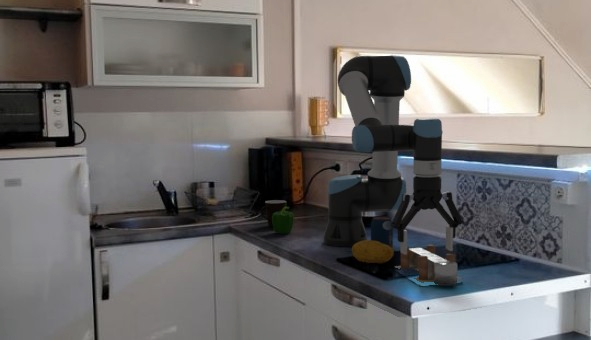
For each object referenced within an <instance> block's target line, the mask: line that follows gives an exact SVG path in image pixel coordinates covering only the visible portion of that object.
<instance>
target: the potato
mask: <svg viewBox="0 0 591 340" xmlns="http://www.w3.org/2000/svg"><path fill="white" fill-rule="evenodd" d="M351 247H352V248H351V253H352V254H353V257H354V258H355V259H356V260H357V261H359V262H361V261H362V263H364V262H370V263H378V264H384V263H387V262H389V261H390V260H391V259H392V258H393V257H394V255H395V251H394V248H393V249H392V248H391V247H390V246H389V245H386V244H383V243H380V242H378V241H371V240H368V239H367V240H363V241H360V242H358V243H356V244H354V245H353V246H351Z"/></svg>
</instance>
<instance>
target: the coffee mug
mask: <svg viewBox="0 0 591 340" xmlns="http://www.w3.org/2000/svg"><path fill="white" fill-rule="evenodd" d="M264 204H265V206H262V207H261V209H260V214H261V217H262V218H264V219H265V220H267V225H268V228H272V229H274V227H273V223H272V215H273V213H275V212H281V213H282V209H283V208H284V207H287V201H286V200H284V199H283V200H281V199H280V200H279V199H278V200H277V199H274V200H273V199H272V200H265V202H264ZM264 209H266V210H265V211H266V216H265V215H264V214H263V210H264ZM286 210H287V209H285V211H286ZM285 211H284V212H285Z"/></svg>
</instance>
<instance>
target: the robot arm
mask: <svg viewBox="0 0 591 340" xmlns="http://www.w3.org/2000/svg"><path fill="white" fill-rule="evenodd" d="M411 84H412V73H411V69H410V65H409V62H408V59H407V58H406V57H405V56H403V55H400V54H399V55H398V54H397V55H396V54H377V55H376V54H375V55H374V54H373V55H371V54H370V55H369V54H368V55H366V54H364V55H363V54H362V55H356V56H354V57H352V58H350V59H349V60H347V61H346V62H345V63H344V64H343V65H342V67H340V70H339V72H338V75H337V86H338V90H339V91H340V93H341V94H342V95H343V96H344V97H345V100H346V103H347V106H348V109H349V113H350V115H351V117H352V120H353V123H354V127H352V130H351V143H352V144H351V146H352V148H353V150H354V151H355V152H358V153H359V152H360V153H364V152H365V153H372V160H371V161H372V165H371V166H372V167H371V168H370V170H369V171H368V172H367V178H363V177H362V175H361V174H349V175H340V176H336V177H334V178H331V179H330V180H329V181H328V186H327V189H328V190H327V194H328V195H327V196H328V200H327V201H328V221H327V225H326V228H325V232H324V234H323V243H324V244H326V245H329V246H333V247H353V245H354V244H356V243H358V242H360V241H363V240H368V235H367V232H366V228H365V225H364V222H363V213H376V212H387V213H389V212H395V211H396V213H395V214H394V217H393V219H392V220H391V221H392V223H391V227H393V229H395V230H397V241H398V242H399V243H400V254H401V253H403V254H404V255H405V254H407V247H408V230H406V228H407V226H408V225H409V224H410V222H412V220H413V219H414V218H415V216H416V215H417V214H418V213H419V212H421V210H423V211H424V210H425V211H426V210H434V209H435V210H436V211H437V212H438V213H439V215H440V216H441V217H442V218H443V219H444V221H445V222H446V223H447V225H446V226H445V250H448V251H449V252H453V250H454V248H453V247H454V239H455V238H456V235H457V234H456V233H457V232H456V229H457V228H458V226H459V225H462V224H463V219H462V218H461V215H460V213H459V211H458V209H457V207H456V204H455V203H454V201H453V193H452V192H451V191H448V190H445V191H444V192H442V191H441V190H442V176H440V175H441V174H442V157H443V156H442V153H443V152H442V150H443V148H442V145H443V125H442V124H443V123H442V120H441V119H440V118H430V117H429V118H416V119H415V120H414V121H413V123H409V124H400V105H401V104H400V102H401V100H403V98H404V97H405V94H406V93H405V91H409V90H410V89H411ZM373 101H374V102H373ZM411 151H413V160H412V161H413V164H412V165H413V170H412V171H413V174H414V176H413V177H412V180H413V181H412V184H413V186H412V188H413V189H412V190H413V193H412V194H408V193H407V182H406V179H405V178H403V177H402V172H400V171H399V170H398V154H399V153H398V152H411ZM442 199H443V200H444V202H445V204H446V207H447V209H448V211H449V213H448V212H447V210H446V209H445V208H444V206H443V205H442V204H441V202H440V201H441V200H442ZM412 201H413V203H412V204H411V206H410V208H409V210H408V211H407V209H408V207H409V204H410V203H411V202H412Z"/></svg>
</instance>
